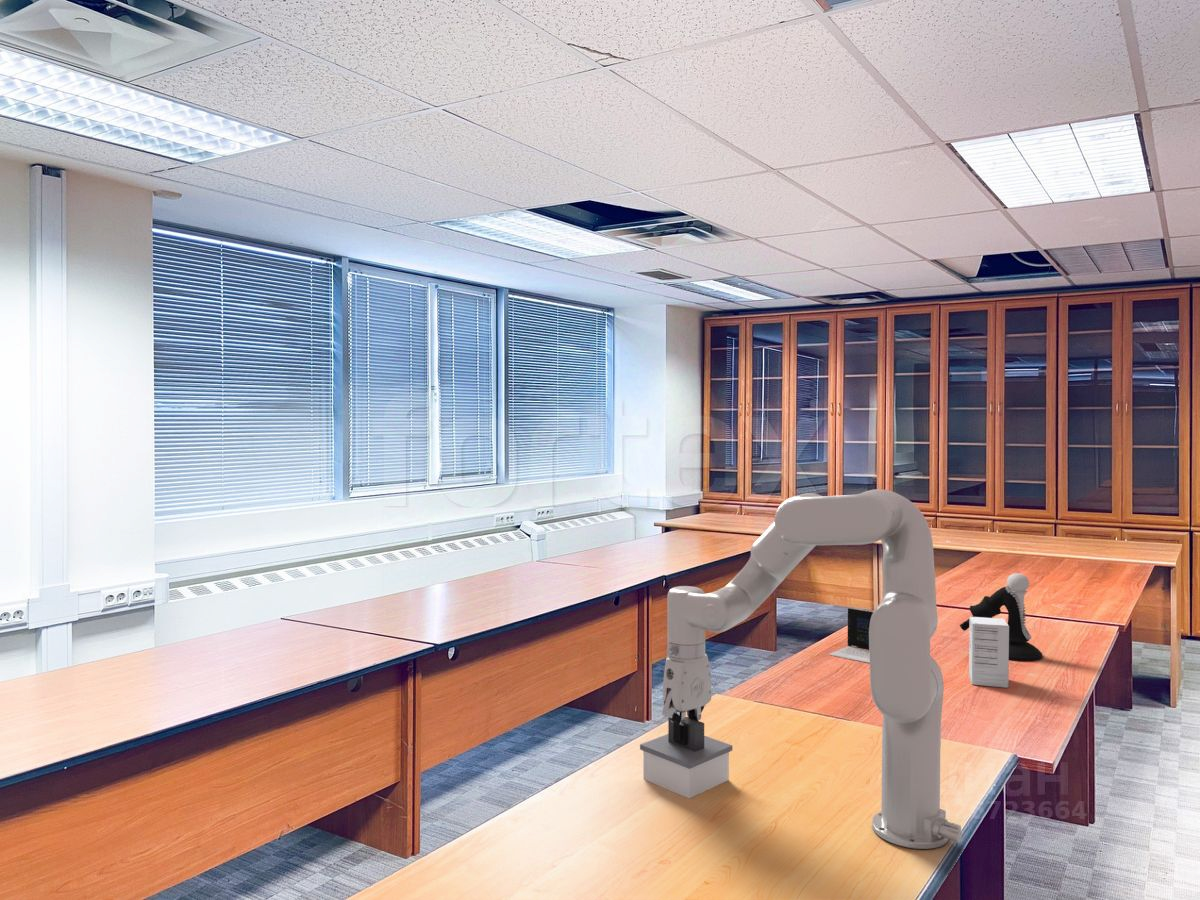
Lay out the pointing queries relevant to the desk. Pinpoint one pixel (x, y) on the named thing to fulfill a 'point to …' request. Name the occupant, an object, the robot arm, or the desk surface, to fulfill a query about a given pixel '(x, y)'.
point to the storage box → (686, 774)
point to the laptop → (857, 636)
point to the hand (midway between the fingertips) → (686, 740)
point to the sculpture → (1010, 616)
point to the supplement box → (989, 652)
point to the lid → (687, 746)
